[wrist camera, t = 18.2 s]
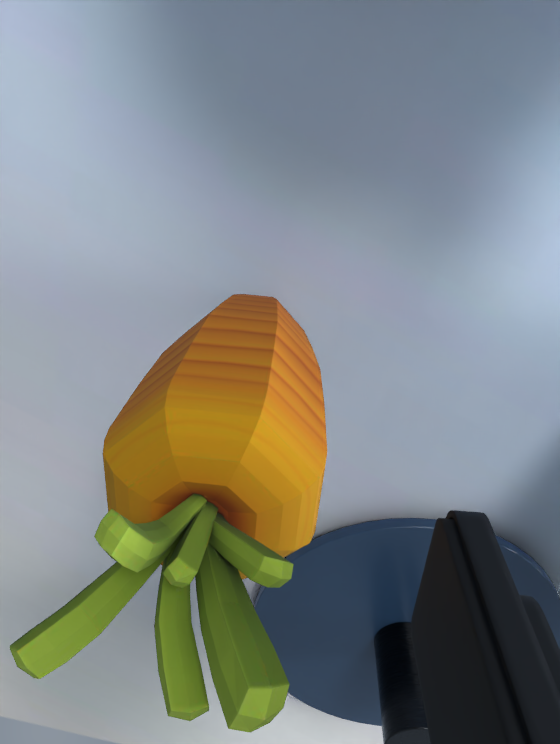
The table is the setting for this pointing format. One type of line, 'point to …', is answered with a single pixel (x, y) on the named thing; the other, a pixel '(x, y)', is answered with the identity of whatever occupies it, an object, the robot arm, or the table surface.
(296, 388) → the carrot
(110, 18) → the table surface
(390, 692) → the saucepan lid
